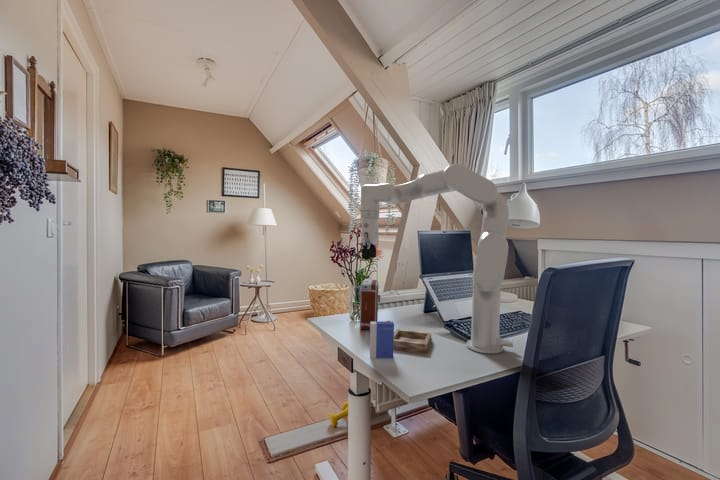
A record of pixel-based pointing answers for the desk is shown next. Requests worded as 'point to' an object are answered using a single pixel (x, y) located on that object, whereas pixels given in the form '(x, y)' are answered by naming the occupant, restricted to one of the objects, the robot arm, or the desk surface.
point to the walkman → (381, 339)
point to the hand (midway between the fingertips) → (369, 258)
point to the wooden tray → (412, 341)
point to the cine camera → (369, 303)
